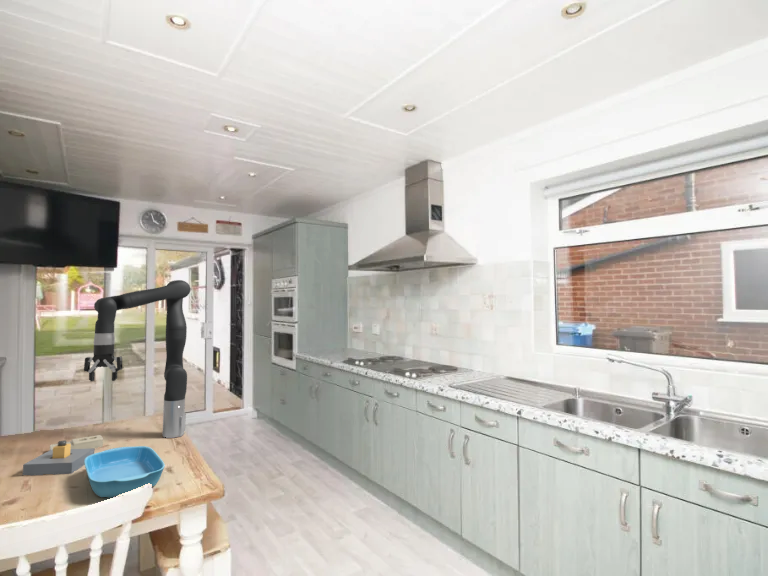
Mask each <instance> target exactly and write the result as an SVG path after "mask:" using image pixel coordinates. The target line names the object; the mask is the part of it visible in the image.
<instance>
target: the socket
mask: <svg viewBox="0 0 768 576" xmlns="http://www.w3.org/2000/svg"><path fill="white" fill-rule="evenodd" d="M95 450H96V448H91V449H71V450H70V455H69V456H67V457H66V458H57V459H52V458H53V450H50V449H49V450H48V451H46V452H44V453H42V454H41V455H40V454H39V456H37V457H35V458H33V459H31V460H29V461H27V462H26V463H23V464H22V465H23V466H22V476H23V475H30V476H44V475H43V474H53V475H69V474H70V475H71V474H73V473H75V472H76V471H78V470H79V469H81V468H82V467H85V464H84V460H85V458H86V457H88V456H89V455H92V454H95V452H96V451H95ZM74 471H75V472H74Z"/></svg>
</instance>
